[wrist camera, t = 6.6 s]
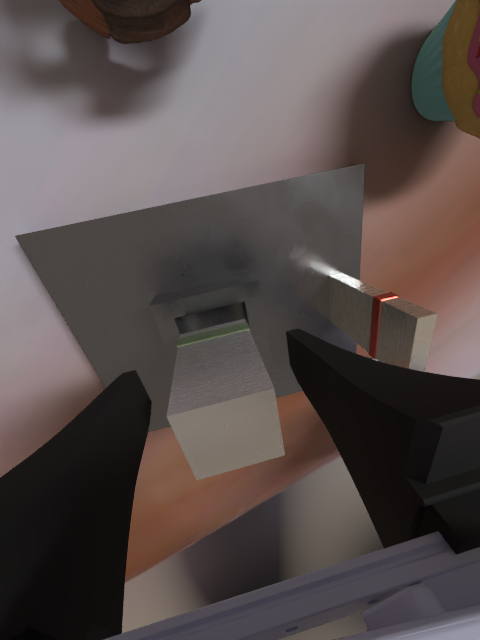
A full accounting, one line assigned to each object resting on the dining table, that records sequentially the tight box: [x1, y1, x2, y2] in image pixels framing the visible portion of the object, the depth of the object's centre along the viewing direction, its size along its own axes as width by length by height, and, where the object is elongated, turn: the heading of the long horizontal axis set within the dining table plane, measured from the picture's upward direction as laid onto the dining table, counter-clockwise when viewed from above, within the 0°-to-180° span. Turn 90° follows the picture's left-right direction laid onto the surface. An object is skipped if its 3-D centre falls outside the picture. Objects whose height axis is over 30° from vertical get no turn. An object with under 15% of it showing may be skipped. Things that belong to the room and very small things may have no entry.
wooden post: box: [167, 319, 285, 480], centre depth 12 cm, size 4×4×6 cm
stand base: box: [15, 163, 438, 432], centre depth 15 cm, size 18×22×9 cm
